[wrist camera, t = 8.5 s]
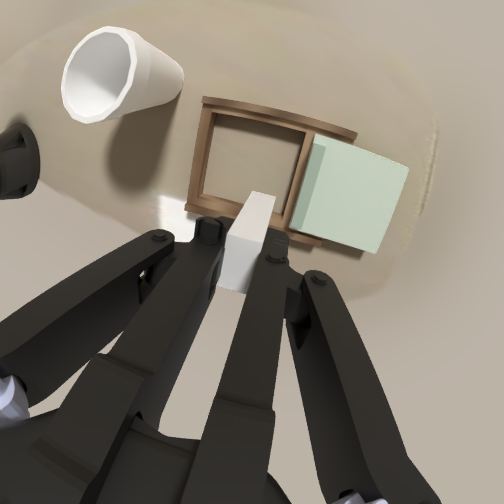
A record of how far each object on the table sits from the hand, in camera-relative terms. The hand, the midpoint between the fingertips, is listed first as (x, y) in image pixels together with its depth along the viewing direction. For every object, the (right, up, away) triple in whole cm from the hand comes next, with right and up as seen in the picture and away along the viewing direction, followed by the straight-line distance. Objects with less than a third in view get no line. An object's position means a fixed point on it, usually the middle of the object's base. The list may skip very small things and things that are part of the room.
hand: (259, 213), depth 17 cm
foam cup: (-12, +19, +11) cm, 25 cm away
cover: (+10, +4, +11) cm, 16 cm away
